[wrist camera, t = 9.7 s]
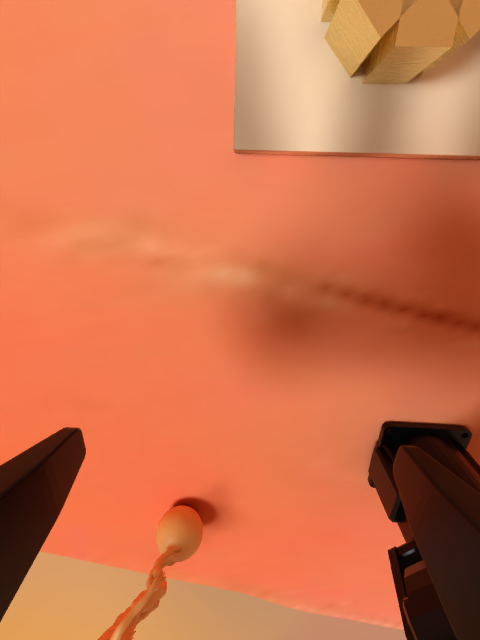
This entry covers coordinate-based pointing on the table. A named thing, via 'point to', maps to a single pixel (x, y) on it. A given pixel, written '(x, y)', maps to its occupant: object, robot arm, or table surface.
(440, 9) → the brass gear
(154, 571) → the figurine
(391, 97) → the gear board
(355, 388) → the table surface
